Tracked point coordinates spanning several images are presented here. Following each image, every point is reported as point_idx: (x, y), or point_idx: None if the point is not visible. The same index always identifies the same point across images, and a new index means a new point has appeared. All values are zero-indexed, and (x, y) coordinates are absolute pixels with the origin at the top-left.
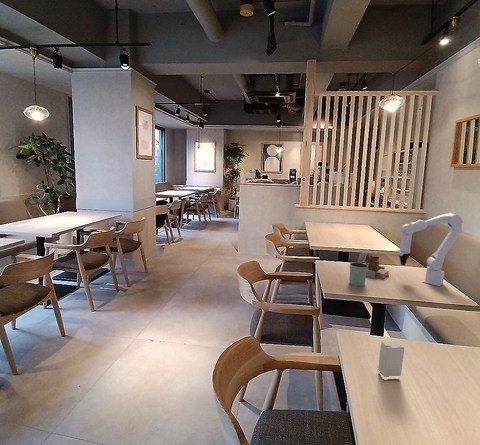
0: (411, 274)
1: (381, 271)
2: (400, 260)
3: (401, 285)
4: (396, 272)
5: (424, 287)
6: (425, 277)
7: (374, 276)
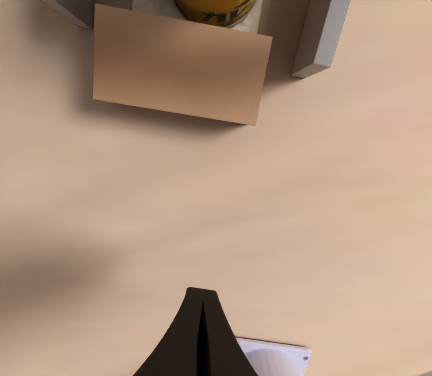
0: (378, 265)
1: (172, 62)
2: (167, 330)
3: (64, 243)
4: (375, 169)
5: (137, 351)
6: (268, 369)
7: (72, 20)
